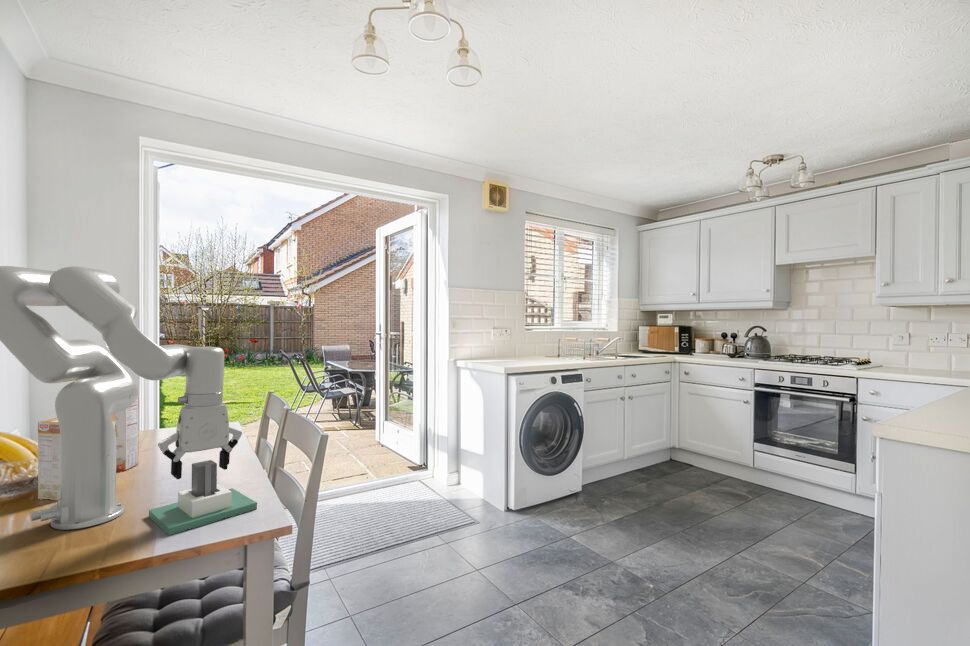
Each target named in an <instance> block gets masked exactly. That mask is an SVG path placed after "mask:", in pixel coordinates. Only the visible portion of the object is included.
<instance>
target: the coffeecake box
mask: <svg viewBox="0 0 970 646" xmlns="http://www.w3.org/2000/svg"><path fill="white" fill-rule="evenodd" d="M110 417H111V420H112V423H113V425H114V428H115V413H114V414H111V415H110ZM37 499H38V500H42V499H50V500H49V501H59V500H61V442H60V428H59V423H58V419H57V417H54V418H49V419H44V420H40V421H37Z"/></svg>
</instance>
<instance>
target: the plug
mask: <svg viewBox="0 0 970 646" xmlns="http://www.w3.org/2000/svg"><path fill="white" fill-rule="evenodd" d="M217 464H218V463H217V462H215V461H213V460H212V459H209V460H203V461H199V462H198V461H197V462H193V463H191V489H192V495H193V496H195V497H199V496H204V497H207V496H210V495H214V493H215V492H217V483H218V482H217V481H218V476H217V475H218V465H217Z"/></svg>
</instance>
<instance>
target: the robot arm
mask: <svg viewBox="0 0 970 646" xmlns="http://www.w3.org/2000/svg"><path fill="white" fill-rule="evenodd" d="M120 292H121V286H120V284H119V282H118V280H117V279H116V277H114V276H113V274H111V273H109V272H107V271H105V270H101V269H95V268H91V267H84V266H75V265H74V266H66V267H62V268H60V269H58V270H44V269H36V268H29V267H21V266H15V265H14V266H11V265H1V266H0V343H2V344H3V345H4V346H5V348H6V349H7V350H8V351H9V352H10V353H11V354H12V355H13V356H14V357H15V359H17V360H18V361H19V363H21V365H22V366H23V367H24V368H25V369H26V370H27V371H28V372H29V373H30V374H31V375H32V376H33V377H34V378H35V379H37V380H38V381H39V382H42V383H44V384H60V383H67V382H70V383H68V384H66V385H64V386H63V387H62V388H61V390H59V392H58V394H57V396H56V397H55V402H54V407H55V408H54V409H55V413H56V414H55V415H56V418H57V419H58V423H59V428H60V442H61V500H56V504H54V505H51V506H50V507H49V508H45V509H39V510H33V511H31V512H30V522H33V521H38V520H40V522H44V521H49V520H50V526H51V527H52V528H53V529H55V530H63V531H65V530H79V529H85V528H89V527H93V526H96V525H100V524H104V523H106V522H109V521H112V520H114V519H116V518H118V517H119V516H121V515H122V514H123V513H124V512H125V505H124V503H122V502H118V501H117V471H116V432H115V428H114V425H113V423H112V420H111V417H110V415H111V414H114V413H117V412H120V411H122V410H125V409H127V408H129V407H130V406H131V405H132V404H133V403H134V402H135V401H136V399H137V398H138V393H139V391H138V385H137V384H136V382H135V380H134V379H133V377H132V376H131V375H130V374H129V373H128V372H127V370H125V368H124V367H122V366H121V364H122V365H124V366H125V367H126V368H128V369H129V371H131V372H132V373H134V374H136V375H137V376H139V377H140V378H143V379H145V380H149V381H163V380H166V379H170V378H175V377H179V376H185V390H184V394H183V395H182V396H178V397H177V402H178V403H179V404H180V403H181V404H184V405H183V406H181V408H180V411H179V415H178V420H177V424H176V425H177V426H176V431H175V433H174V434H172V435H170V436H168V437H167V438H165V439H163V440H161V441H160V442H158V443H157V447H158V449H160V451H161V453H162V454H163V455H164V456H165V457H166V458H167V459H170V461H171V463H170V474H171V476H172V477H173V478H175V479H176V480H181V479H182V472H183V471H182V470H183V461H182V460H181V458H182V457H184V455H185V454H186V453H196V452H202V451H207V450H213V449H219V448H221V450H220V451H219V455H218V456H219V459H218V460H219V461H218V467H219V468H220V469H221V470H224V471H226V470H228V465H230V457H231V456H230V455H231V452H232V451H233V448H235V447H236V446H237V445H238V443H239V440H240V438H241V437H242V435H243V432H242V431H241V430H239V429H235V428H232V427H230V421H229V420H230V419H229V411H228V406H227V404H226V403H223V397H224V396H223V395H224V374H225V372H224V371H225V351H224V349H223V348H221V347H218V346H192V345H186V344H177V343H174V344H164V345H163V344H161V345H159V344H157V343H155V341H153V340H152V339H150V338H149V337H148V336H147V335H146V334H144V332H142V330H140V329H139V328H138V326H137V325H136V323H135V318H136V317H137V315H138V311H137V308H136V306H135V305H133V304H132V303H131V302H130V301H129V300H127V299H125V297H123V296H122V295H120ZM28 306H29V307H33V306H34V307H68V308H69V310H71V311H73V313H75V314H77V315H78V316H79V317H80V318H81V319H83V320H84V321H85V322H87V323H88V324H89V325H91V326H92V327H93V328H94V329H95V330H97V331H98V332H99V333H100V334H101V337H102V340H103V342H104V344H105V346H106V348H107V349H108V351H107V350H106V349H105V348H104V347H103V346H101V345H100V344H98V343H97V342H94V341H91V340H87V339H68V338H65V337H64V336H62V335H61V334H60V333H59V332H58V330H56V329H55V328H54V327H53V326H52V324H50V323H49V321H48V320H46V319H45V318H44V317H43V316H41V315H39V313H36V312H34V311H33V310H31V309H30V308H29V307H28ZM110 353H111V354H110ZM119 362H120V363H121V364H120V363H119ZM71 381H72V382H71ZM230 434H231V435H232V438H231V439H230ZM173 443H174V444H175V447H176V448H175V449H174V450H173V451H171V450H170V448H169V446H170V445H172V444H173Z"/></svg>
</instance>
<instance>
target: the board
mask: <svg viewBox="0 0 970 646" xmlns="http://www.w3.org/2000/svg"><path fill="white" fill-rule="evenodd" d="M227 489H228V490H230V491H231V492H232V507H229V508H225V509H222V510H218V511H215V512H211V513H208V514H204V515H201V516H197V517H194V518H191V517H190V516H189V515H188V514H186V513H185V512H184V511H183V510H181V509H180V508H179V507H178V501H177V502H174V503H170V504H167V505H163V506H159V507H155V508H150V509H148V517H149V518H150V520H152V521H153V522H154V523H155V524H156V523H157V524H156V525H157V526H158V525H159V528H161V529H162V530H163V531H164V532H165V533H166V534H167V535H168V536H172V534H173V535H176V534H178V533H182V532H184V531H185V530H186V531H188V530H187V529H189V530H191V528H192V529H195V528H194V527H196V528H198V527H202V526H205V525H210V524H213V523H214V522H218V520H219V521H221V519H222V520H224V519H223V518H225V519H228V518H227V517H229V518H231V517H230V516H232V517H234V515H235V516H238V515H241V514H240V513H242V514H244V512H245V513H247V511H248V512H251V510H252V511H255V510H257V509H258V502H256V501H255V500H253V499H251V498H250V497H248V496H247V495H245V494H243V493H241V492H240V491H238V490H236V489H234V488H233V487H231V488H227ZM254 509H255V510H254ZM237 514H238V515H237ZM181 531H182V532H181ZM186 531H185V532H186Z"/></svg>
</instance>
